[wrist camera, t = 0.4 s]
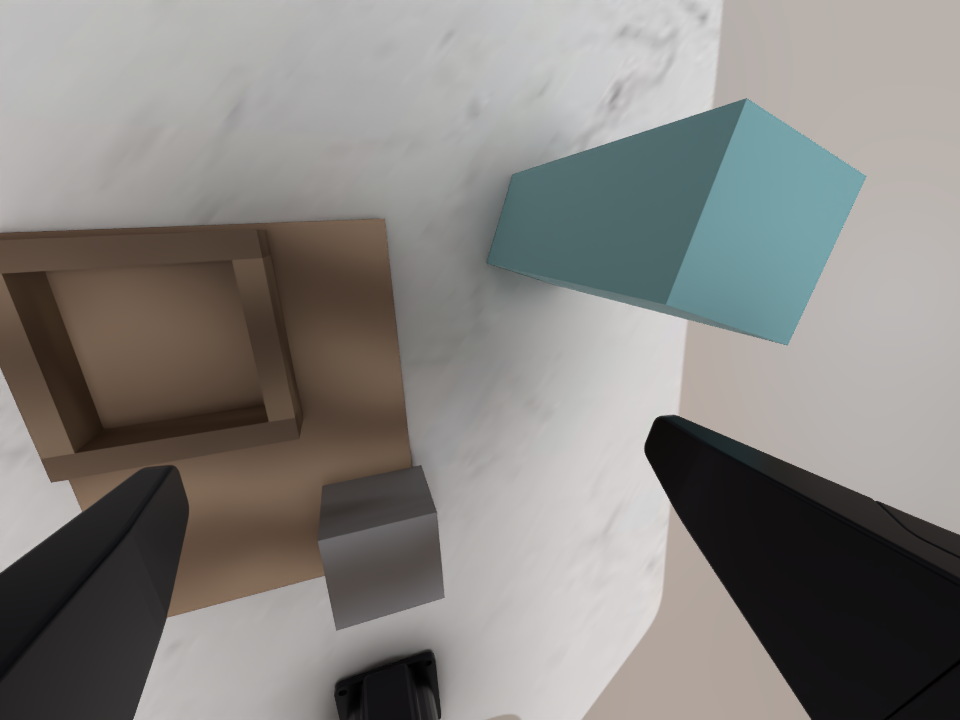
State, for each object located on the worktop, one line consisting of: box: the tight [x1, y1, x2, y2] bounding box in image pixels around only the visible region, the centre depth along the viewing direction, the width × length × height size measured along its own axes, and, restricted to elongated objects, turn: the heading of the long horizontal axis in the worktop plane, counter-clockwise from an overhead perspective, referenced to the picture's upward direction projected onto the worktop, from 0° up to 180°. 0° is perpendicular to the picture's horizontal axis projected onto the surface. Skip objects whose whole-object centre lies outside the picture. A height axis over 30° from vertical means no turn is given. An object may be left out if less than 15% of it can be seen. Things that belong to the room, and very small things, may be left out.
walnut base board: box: [0, 219, 445, 631], centre depth 18 cm, size 18×14×6 cm
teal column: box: [487, 98, 866, 345], centre depth 16 cm, size 4×4×13 cm
